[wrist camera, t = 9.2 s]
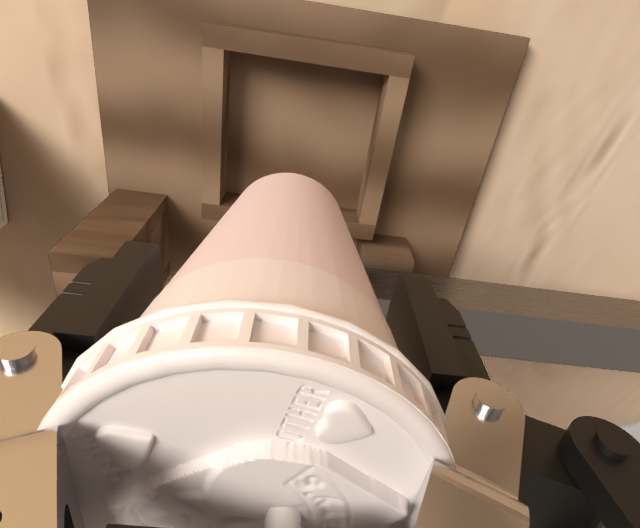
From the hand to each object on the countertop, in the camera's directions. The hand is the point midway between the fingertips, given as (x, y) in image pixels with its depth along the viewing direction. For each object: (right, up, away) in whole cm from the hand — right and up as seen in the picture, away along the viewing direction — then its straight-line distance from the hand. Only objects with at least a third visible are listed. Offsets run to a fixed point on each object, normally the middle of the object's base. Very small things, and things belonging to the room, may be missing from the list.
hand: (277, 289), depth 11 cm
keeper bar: (+12, -2, +16) cm, 20 cm away
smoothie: (0, +2, +4) cm, 4 cm away
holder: (0, +7, +15) cm, 17 cm away
